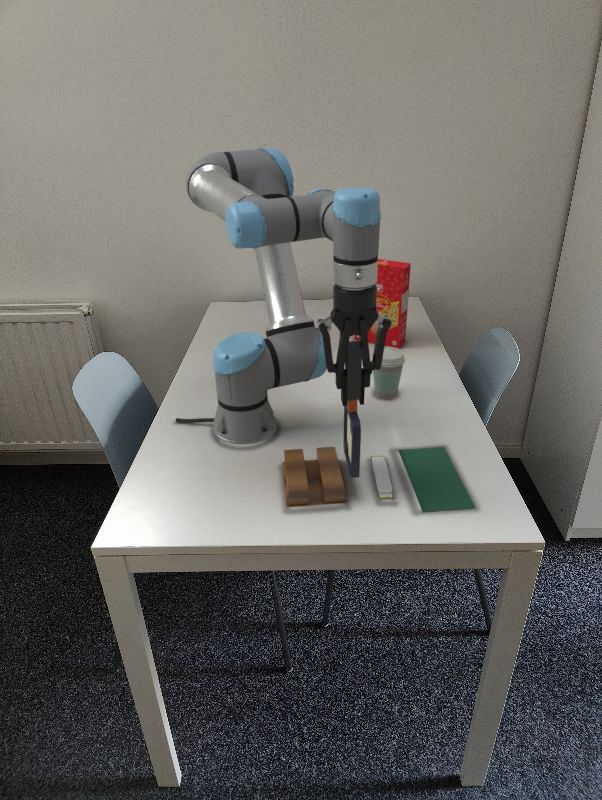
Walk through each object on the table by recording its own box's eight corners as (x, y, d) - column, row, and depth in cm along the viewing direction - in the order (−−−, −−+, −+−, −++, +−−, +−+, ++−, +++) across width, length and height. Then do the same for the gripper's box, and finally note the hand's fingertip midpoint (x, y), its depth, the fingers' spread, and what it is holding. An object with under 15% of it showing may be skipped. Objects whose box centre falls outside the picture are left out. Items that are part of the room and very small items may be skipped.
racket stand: (347, 507, 116) (347, 488, 114) (286, 512, 115) (285, 493, 113) (336, 462, 129) (336, 444, 127) (282, 466, 128) (281, 448, 126)
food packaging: (354, 339, 185) (356, 261, 172) (361, 333, 188) (364, 256, 176) (398, 348, 178) (404, 268, 165) (405, 342, 182) (410, 263, 169)
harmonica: (394, 503, 117) (395, 495, 116) (379, 504, 117) (379, 496, 116) (384, 460, 129) (384, 452, 128) (370, 460, 129) (370, 453, 128)
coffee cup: (401, 403, 150) (404, 361, 144) (367, 400, 152) (369, 359, 146) (403, 387, 157) (406, 346, 151) (371, 384, 159) (373, 344, 153)
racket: (362, 480, 115) (367, 357, 102) (347, 481, 115) (350, 358, 102) (353, 448, 125) (356, 332, 111) (339, 449, 125) (341, 333, 111)
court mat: (415, 512, 114) (415, 512, 114) (391, 450, 132) (391, 450, 132) (475, 508, 115) (475, 507, 115) (444, 447, 133) (444, 446, 133)
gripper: (311, 293, 97) (313, 414, 109) (405, 288, 98) (397, 409, 110) (307, 279, 103) (309, 394, 115) (395, 274, 104) (388, 389, 116)
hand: (352, 401), depth 113 cm, fingers closed on racket, 3 cm apart
